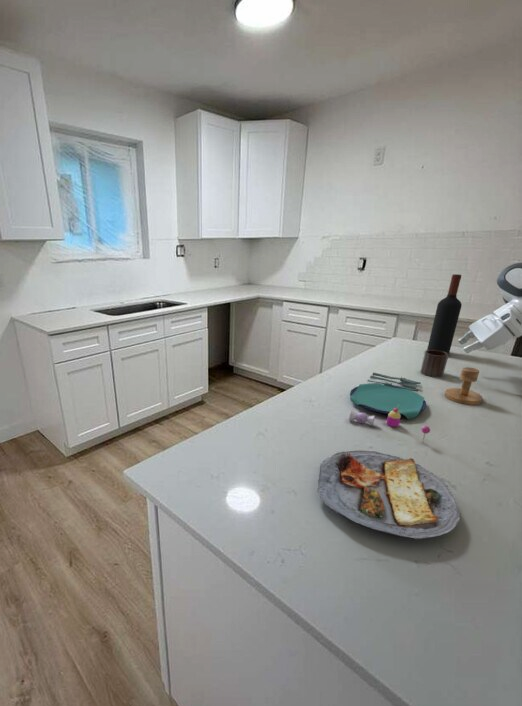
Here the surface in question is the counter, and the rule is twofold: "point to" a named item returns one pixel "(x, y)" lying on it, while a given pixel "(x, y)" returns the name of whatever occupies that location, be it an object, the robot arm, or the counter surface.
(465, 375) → the wooden stand
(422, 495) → the food plate
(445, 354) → the walnut ring
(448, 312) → the wine bottle
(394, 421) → the candy
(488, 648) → the counter surface
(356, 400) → the cutlery set
